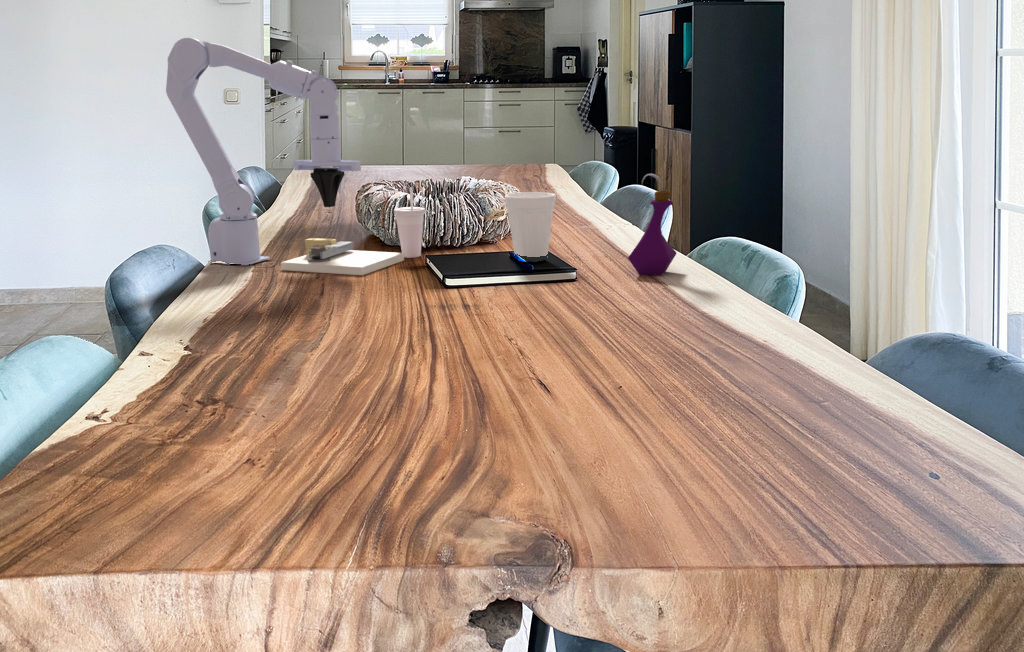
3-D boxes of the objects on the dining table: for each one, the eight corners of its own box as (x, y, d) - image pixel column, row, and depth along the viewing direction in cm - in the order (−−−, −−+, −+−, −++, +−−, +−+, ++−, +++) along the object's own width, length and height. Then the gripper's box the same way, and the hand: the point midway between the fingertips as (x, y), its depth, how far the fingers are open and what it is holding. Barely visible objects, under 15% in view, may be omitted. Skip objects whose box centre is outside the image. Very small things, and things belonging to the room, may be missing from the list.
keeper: (306, 256, 200) (304, 239, 199) (311, 254, 202) (310, 238, 201) (331, 257, 198) (330, 240, 197) (337, 255, 200) (336, 239, 199)
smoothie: (422, 259, 203) (419, 189, 199) (391, 258, 204) (388, 189, 201) (430, 253, 209) (428, 185, 205) (401, 253, 210) (398, 185, 207)
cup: (566, 259, 199) (565, 193, 196) (540, 268, 191) (539, 198, 188) (523, 255, 204) (522, 190, 201) (495, 263, 196) (494, 196, 193)
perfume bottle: (676, 270, 186) (678, 171, 182) (669, 277, 179) (670, 175, 175) (636, 268, 189) (637, 171, 184) (627, 275, 182) (628, 175, 177)
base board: (281, 270, 194) (280, 261, 194) (327, 256, 208) (326, 247, 208) (362, 275, 187) (361, 266, 187) (404, 260, 202) (403, 251, 201)
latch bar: (321, 259, 193) (321, 249, 193) (308, 258, 194) (307, 248, 194) (353, 248, 204) (353, 239, 204) (340, 248, 205) (339, 238, 205)
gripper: (367, 137, 202) (370, 205, 205) (306, 137, 207) (310, 203, 211) (348, 139, 195) (352, 209, 199) (285, 139, 201) (290, 207, 204)
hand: (329, 206), depth 204 cm, fingers closed
